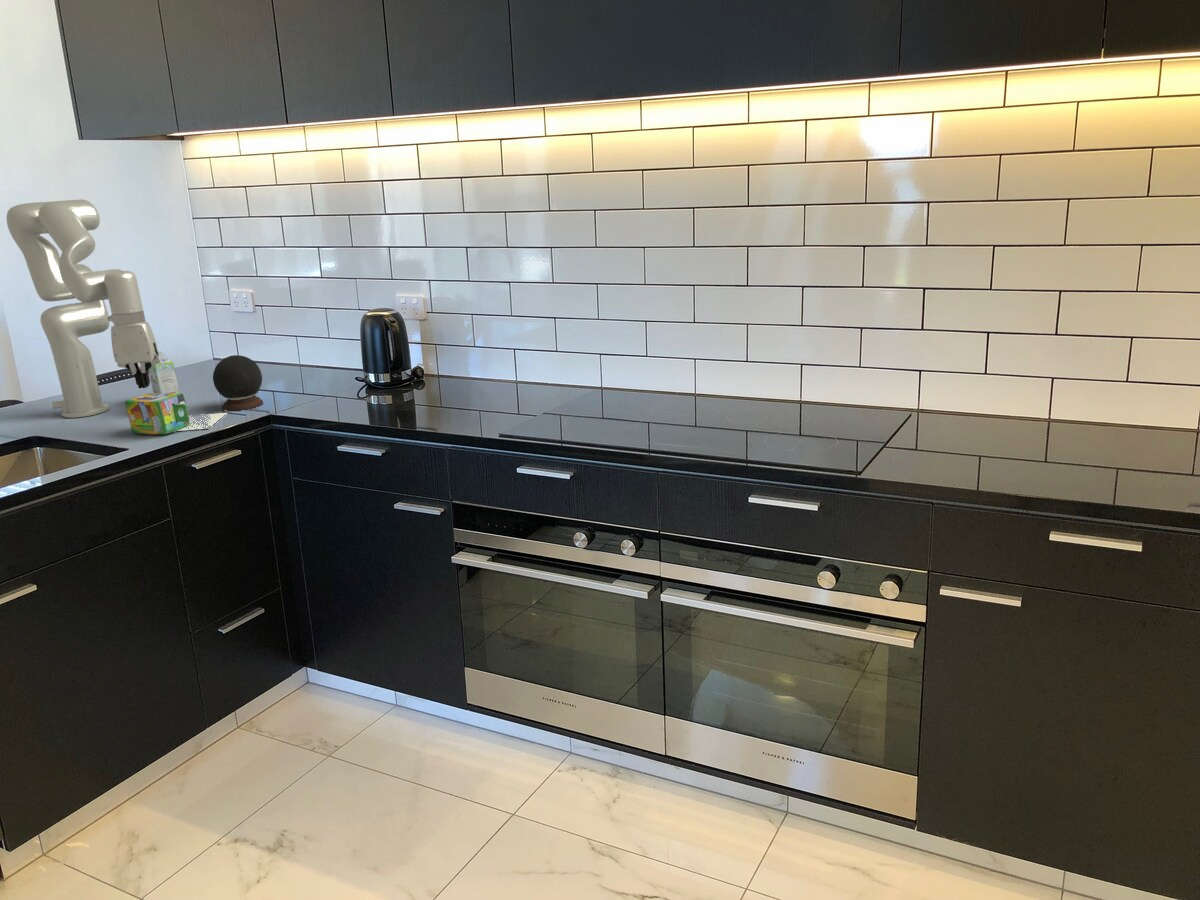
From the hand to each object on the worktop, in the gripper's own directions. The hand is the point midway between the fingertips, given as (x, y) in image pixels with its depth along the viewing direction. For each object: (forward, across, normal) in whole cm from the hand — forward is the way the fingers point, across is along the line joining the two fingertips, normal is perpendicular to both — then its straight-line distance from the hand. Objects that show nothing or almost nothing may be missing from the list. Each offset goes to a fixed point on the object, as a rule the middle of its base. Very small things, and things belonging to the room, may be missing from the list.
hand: (144, 387), depth 247 cm
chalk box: (+6, -1, -3) cm, 7 cm away
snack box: (+12, -5, +24) cm, 27 cm away
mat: (+11, +10, 0) cm, 15 cm away
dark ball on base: (+11, +19, +16) cm, 28 cm away
